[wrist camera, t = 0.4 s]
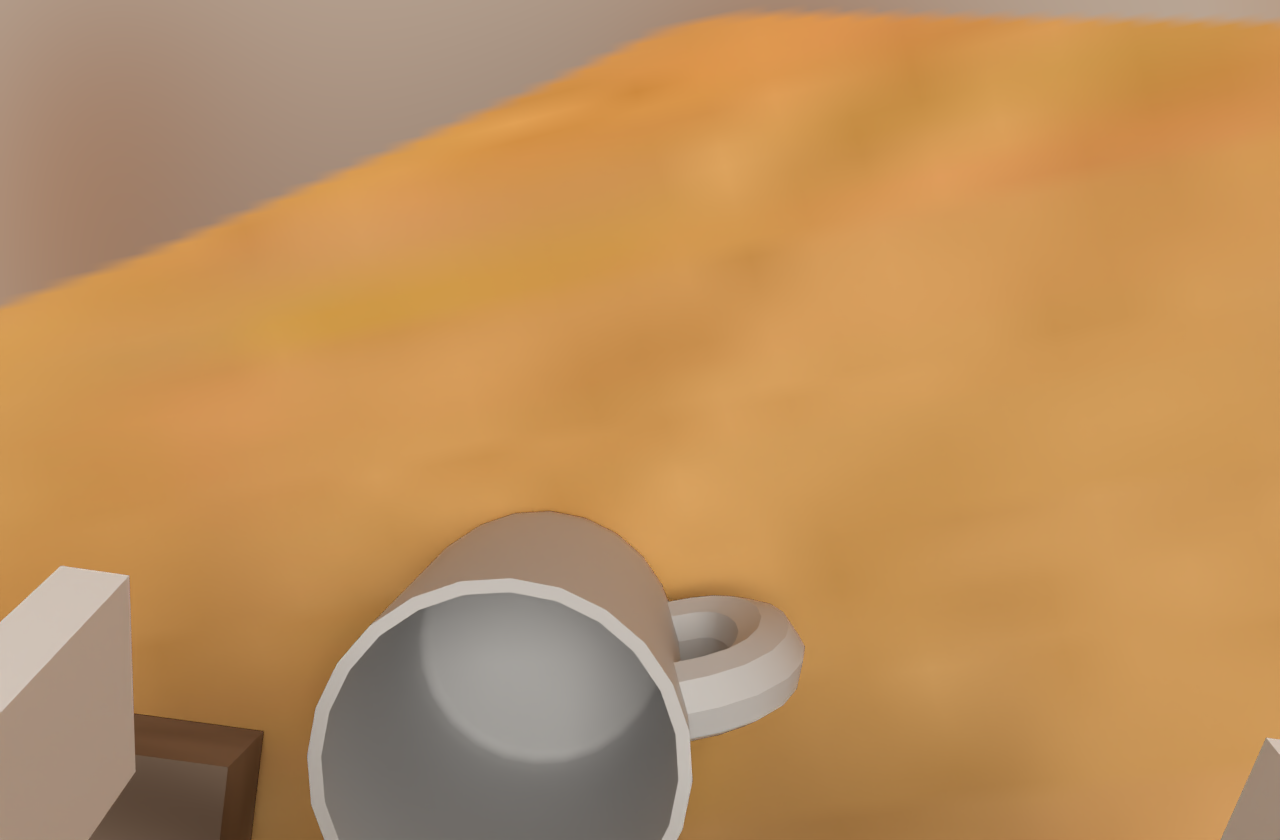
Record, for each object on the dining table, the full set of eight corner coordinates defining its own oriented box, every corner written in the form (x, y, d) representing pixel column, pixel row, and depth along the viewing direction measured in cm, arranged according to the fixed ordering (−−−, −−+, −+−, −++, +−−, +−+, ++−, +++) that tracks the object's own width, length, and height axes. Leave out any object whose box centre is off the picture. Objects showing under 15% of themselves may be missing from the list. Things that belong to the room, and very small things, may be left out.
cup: (384, 535, 29) (269, 618, 20) (750, 463, 29) (799, 515, 20) (440, 792, 29) (352, 987, 20) (801, 722, 29) (871, 887, 20)
